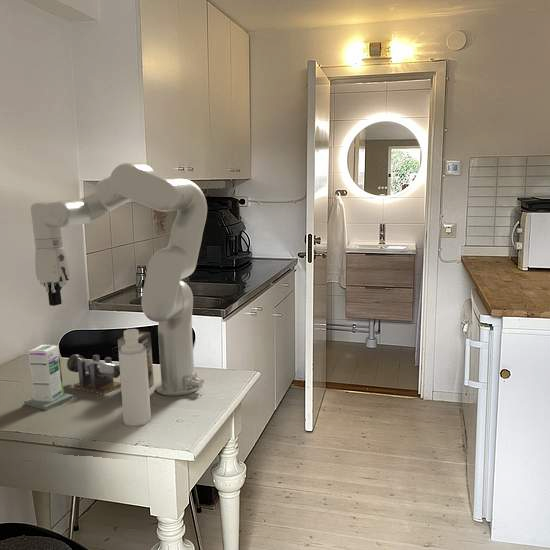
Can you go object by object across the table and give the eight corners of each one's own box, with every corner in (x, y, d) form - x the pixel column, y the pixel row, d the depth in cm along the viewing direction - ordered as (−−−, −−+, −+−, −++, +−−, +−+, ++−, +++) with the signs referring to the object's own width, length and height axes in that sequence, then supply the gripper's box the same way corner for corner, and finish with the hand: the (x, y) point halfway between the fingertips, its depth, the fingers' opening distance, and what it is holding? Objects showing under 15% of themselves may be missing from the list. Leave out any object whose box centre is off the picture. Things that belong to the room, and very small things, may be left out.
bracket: (122, 386, 167) (119, 358, 165) (103, 394, 161) (101, 366, 159) (93, 379, 173) (91, 353, 171) (74, 387, 167) (71, 360, 165)
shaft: (123, 377, 164) (122, 360, 164) (110, 383, 160) (108, 365, 159) (81, 368, 173) (80, 352, 172) (67, 373, 169) (66, 357, 168)
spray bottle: (142, 427, 139) (135, 328, 135) (118, 424, 141) (111, 327, 137) (155, 416, 145) (149, 321, 141) (132, 413, 147) (125, 320, 143)
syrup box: (52, 402, 154) (47, 351, 151) (33, 401, 155) (27, 350, 152) (64, 394, 159) (59, 344, 156) (45, 393, 160) (40, 343, 158)
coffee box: (141, 395, 159) (137, 340, 156) (120, 394, 160) (116, 339, 158) (154, 384, 168) (151, 331, 165) (134, 383, 169) (130, 330, 166)
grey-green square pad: (73, 398, 159) (73, 395, 158) (46, 410, 151) (45, 406, 151) (51, 393, 163) (51, 389, 163) (24, 404, 155) (24, 400, 155)
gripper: (76, 243, 167) (82, 303, 170) (42, 242, 174) (49, 300, 178) (55, 246, 161) (62, 309, 164) (21, 245, 168) (28, 305, 171)
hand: (55, 304), depth 171 cm, fingers closed
